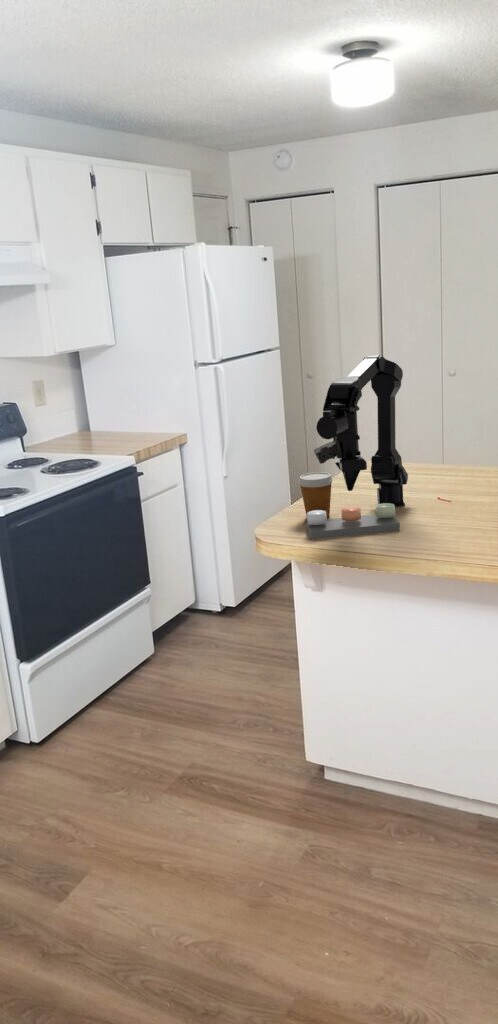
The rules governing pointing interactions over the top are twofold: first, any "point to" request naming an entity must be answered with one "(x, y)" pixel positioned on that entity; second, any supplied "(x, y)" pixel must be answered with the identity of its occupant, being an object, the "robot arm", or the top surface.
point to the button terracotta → (351, 513)
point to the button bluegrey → (316, 517)
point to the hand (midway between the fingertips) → (349, 490)
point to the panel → (352, 527)
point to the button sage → (385, 510)
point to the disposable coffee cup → (316, 491)
